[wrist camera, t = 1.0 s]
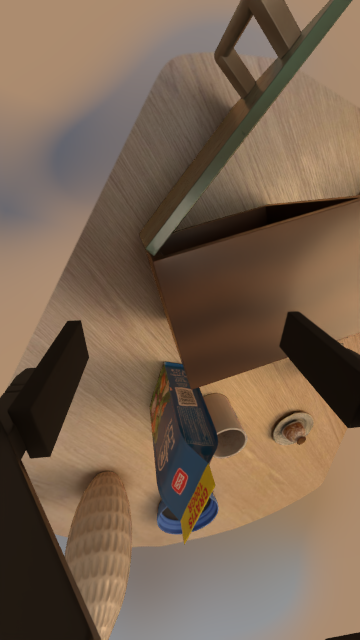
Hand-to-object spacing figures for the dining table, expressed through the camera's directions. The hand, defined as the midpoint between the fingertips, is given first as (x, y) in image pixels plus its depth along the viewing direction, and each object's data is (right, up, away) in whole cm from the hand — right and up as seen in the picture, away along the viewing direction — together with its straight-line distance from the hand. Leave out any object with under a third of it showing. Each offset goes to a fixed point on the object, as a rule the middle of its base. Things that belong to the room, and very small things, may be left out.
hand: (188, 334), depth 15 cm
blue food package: (-3, -14, +37) cm, 39 cm away
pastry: (+30, -29, +50) cm, 65 cm away
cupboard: (+6, +11, +27) cm, 30 cm away
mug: (+7, -22, +42) cm, 48 cm away
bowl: (+1, -54, +55) cm, 77 cm away
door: (-2, +24, +20) cm, 31 cm away
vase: (-19, -40, +45) cm, 63 cm away
